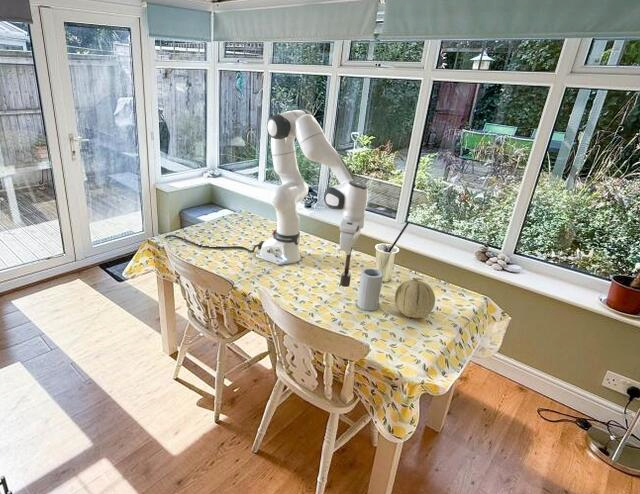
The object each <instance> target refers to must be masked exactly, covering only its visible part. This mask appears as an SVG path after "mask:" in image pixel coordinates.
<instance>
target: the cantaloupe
mask: <svg viewBox="0 0 640 494" xmlns="http://www.w3.org/2000/svg"><path fill="white" fill-rule="evenodd" d="M394 302H395V306H396V308H397V310H398V311H399V312H400V313H401V314H402V315H403V316H404V317H407V318H411V319H412V318H413V319H421V318H425V317H427V316H429V315H430V314H431V313H432V311H433V310H434V307H435V303H436V295H435V292H434V290H433V288H432V287H431V286H430V285H429V284H428V283H426V282H424V281H422V280H419V279H417V278H416V277H413V278H412V279H411V280H406V281H403V282H402V283H401V284H399V286H398V287H397V288H396V290H395V294H394Z"/></svg>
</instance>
